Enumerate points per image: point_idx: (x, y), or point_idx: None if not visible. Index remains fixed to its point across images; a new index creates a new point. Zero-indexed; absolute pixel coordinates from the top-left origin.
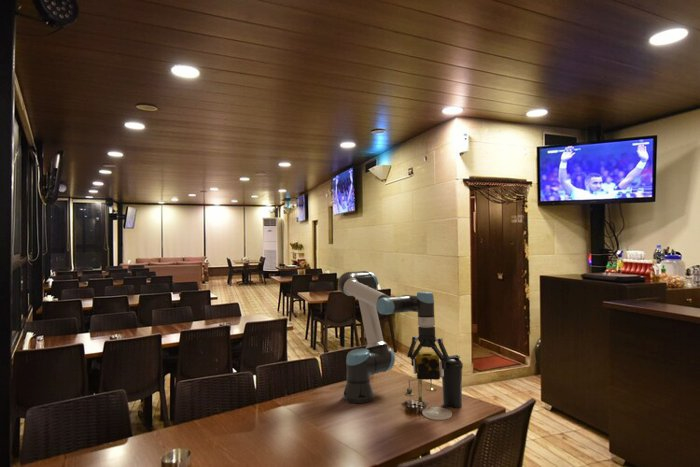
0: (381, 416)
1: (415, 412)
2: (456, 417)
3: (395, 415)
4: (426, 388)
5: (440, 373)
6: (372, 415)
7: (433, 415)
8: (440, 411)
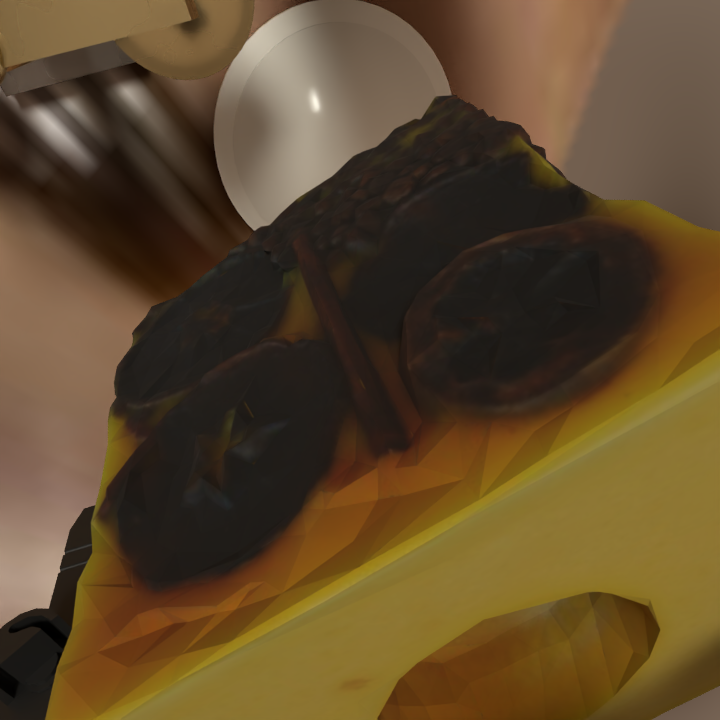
0: (92, 444)
1: (189, 236)
2: (481, 87)
3: None
4: (132, 44)
5: None
6: (40, 473)
7: None
8: (362, 125)
